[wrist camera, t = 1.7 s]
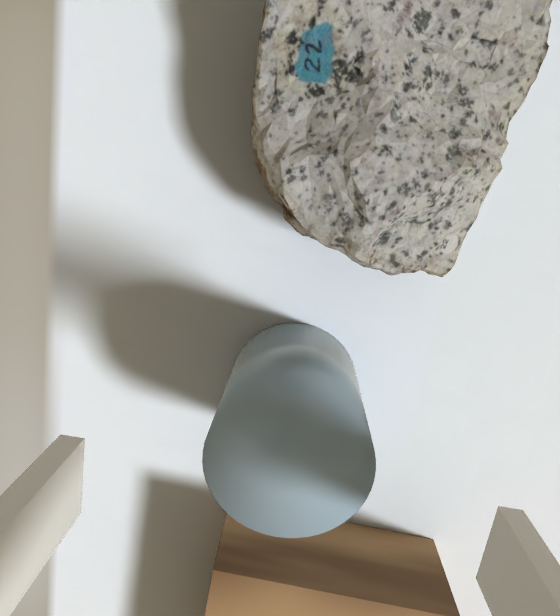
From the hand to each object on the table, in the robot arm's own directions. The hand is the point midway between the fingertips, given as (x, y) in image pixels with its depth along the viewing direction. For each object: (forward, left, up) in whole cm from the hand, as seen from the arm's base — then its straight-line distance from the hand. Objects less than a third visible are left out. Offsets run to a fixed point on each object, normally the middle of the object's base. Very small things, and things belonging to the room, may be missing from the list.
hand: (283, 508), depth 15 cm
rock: (-13, -1, -9) cm, 16 cm away
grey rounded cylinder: (0, 0, -9) cm, 9 cm away
